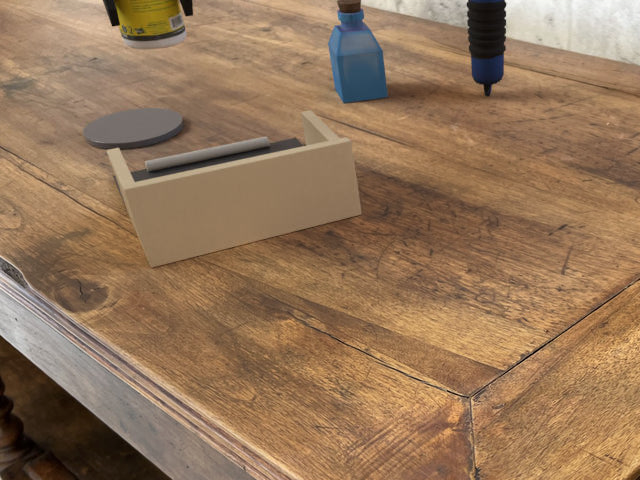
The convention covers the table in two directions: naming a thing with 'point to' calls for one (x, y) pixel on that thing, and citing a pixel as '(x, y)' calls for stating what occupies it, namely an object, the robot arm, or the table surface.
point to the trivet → (133, 128)
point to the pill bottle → (150, 23)
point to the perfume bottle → (356, 56)
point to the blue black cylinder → (487, 41)
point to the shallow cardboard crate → (238, 192)
